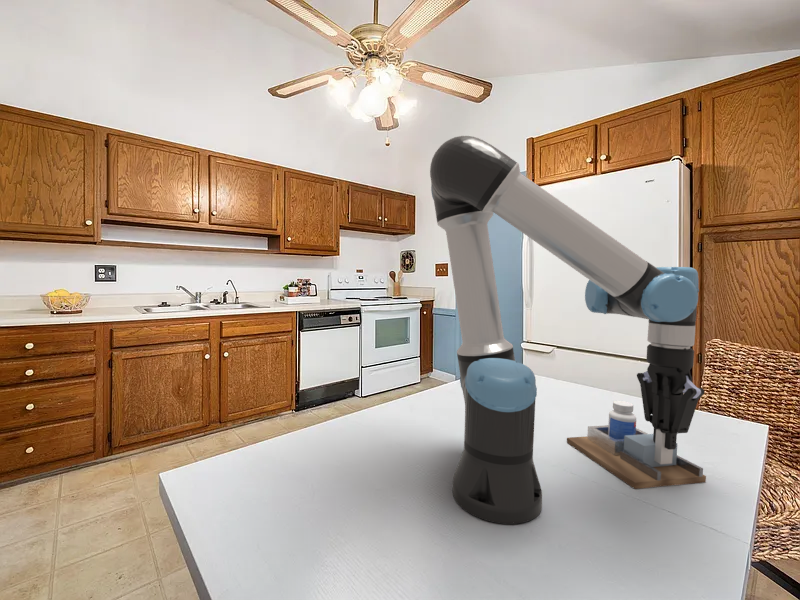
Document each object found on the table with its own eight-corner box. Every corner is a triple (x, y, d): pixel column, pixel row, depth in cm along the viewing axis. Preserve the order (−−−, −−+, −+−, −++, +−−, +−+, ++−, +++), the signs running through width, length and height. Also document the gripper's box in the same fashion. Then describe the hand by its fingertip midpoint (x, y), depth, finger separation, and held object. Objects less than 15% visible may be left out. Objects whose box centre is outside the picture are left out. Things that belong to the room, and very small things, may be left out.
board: (634, 488, 69) (635, 482, 69) (566, 442, 88) (567, 437, 88) (705, 482, 72) (706, 476, 72) (624, 438, 91) (624, 434, 91)
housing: (642, 467, 74) (643, 445, 74) (623, 456, 79) (624, 435, 79) (676, 465, 76) (677, 443, 75) (655, 453, 81) (656, 433, 80)
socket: (614, 455, 79) (615, 441, 79) (587, 438, 88) (587, 426, 88) (657, 452, 82) (658, 438, 81) (627, 436, 90) (627, 424, 90)
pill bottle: (639, 452, 81) (641, 408, 81) (612, 449, 83) (614, 406, 82) (629, 441, 87) (631, 400, 86) (604, 439, 88) (606, 398, 87)
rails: (657, 480, 69) (657, 472, 69) (620, 458, 78) (620, 450, 78) (702, 476, 71) (703, 468, 71) (661, 454, 80) (662, 447, 80)
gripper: (719, 351, 67) (711, 477, 68) (657, 340, 80) (651, 446, 81) (685, 351, 66) (677, 480, 67) (627, 340, 79) (621, 448, 80)
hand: (663, 461), depth 74 cm, fingers closed
